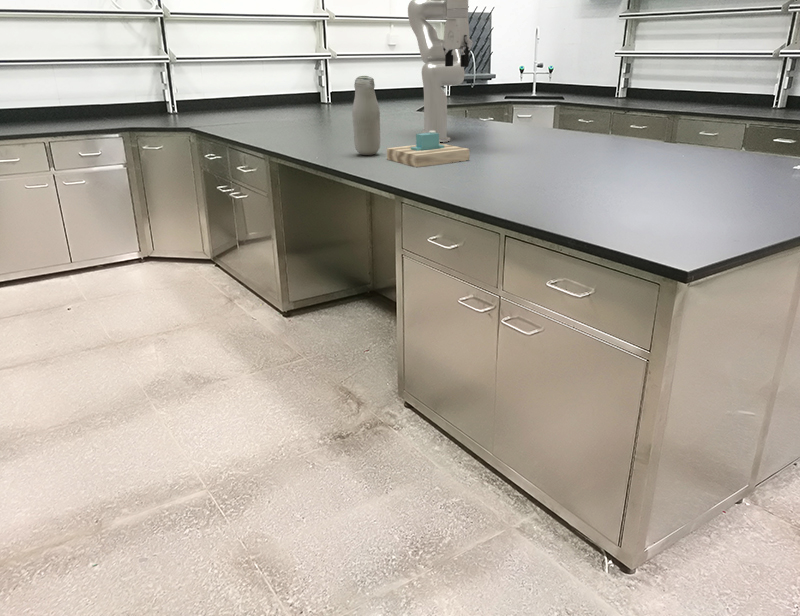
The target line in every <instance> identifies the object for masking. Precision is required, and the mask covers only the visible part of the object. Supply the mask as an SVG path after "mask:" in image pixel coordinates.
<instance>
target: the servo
mask: <svg viewBox="0 0 800 616" xmlns="http://www.w3.org/2000/svg"><path fill="white" fill-rule="evenodd" d="M415 145H416V147H411V150H415V151H420V150H421V151H423V150H432V149H439V148H444V145H440V144H439V133H435V131H429V133H416V134H415Z"/></svg>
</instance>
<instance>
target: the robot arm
mask: <svg viewBox="0 0 800 616" xmlns="http://www.w3.org/2000/svg"><path fill="white" fill-rule="evenodd" d="M407 16H408V17H407V18H408V22H409V25H410V27H411V29H412V31H413V34H414V35H415V37H416V39H417V40H416V41H417V45H418V49H419V53H420V57H421V60H422V62H423V63H424V64H423V66H421V67H422V68H421V79H422V85H423V123H424V125H423V126H424V127H423V130H422V131H421V132H420V134H422V133H429V131H435V133H439V143H440V142H443V143H449V142H450V141H451V137H449V136H448V135H447V133H448V132H447V131H448V129H447V126H448V125H447V124H448V122H447V121H448V97H447V94H446V92H445V91H444V90H443V88H442V87H445V86H446V87H447V86H459V85H461V84H462V83H463V82H464V80H465V74H466V73H465V68H467V67H469V64H470V54H471V51H472V47H473V44H474V42H473V40H472V39H471V38H470V25H469V0H410V1H409V3H408V5H407ZM428 21H445V24H444V25H445V26H444V33H443V39H440V38H438V32H437V31H436V29H435V28H434V27H433V25H432V24H431V23H430V22H428ZM448 141H449V142H448Z"/></svg>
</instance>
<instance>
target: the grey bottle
mask: <svg viewBox="0 0 800 616" xmlns="http://www.w3.org/2000/svg"><path fill="white" fill-rule="evenodd" d="M375 86H376V85H375V79H374V78H373V77H372V76H369V75H360V76H357V77H356V78H355V79H354V99H353V104H352V109H351V111H352V114H351V118H352V127H353V140H354V142H353V143H354V147H355V150H356V152H357V153H359V154H360V155H363V156H373V155H375V154H377V153H378V152H379V150H380V148H381V115H380V114H381V113H380V107H379V102H378V100H377V96H376V92H375Z"/></svg>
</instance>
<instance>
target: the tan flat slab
mask: <svg viewBox="0 0 800 616" xmlns="http://www.w3.org/2000/svg"><path fill="white" fill-rule="evenodd" d="M439 144H440V145H444V148H439V149H432V150H423V151H421V150H420V151H415V150H411V147H416V144H414V145H413V144H412V145H405V146H404V145H403V146H396V147H395V146H394V147H387V148H386V160H389V161H393V162H396V163H400V164H404V165H407V166H410V167H413V168H414V167H415V168H420V167H429V166H435V165H443V164H445V165H446V164H451V163H452V162H453V163H459V161H461V162H467V161H466V160H469V161H470V154H471V153H470V148H466V147H460V146H456V145H451V144H446V143H439Z"/></svg>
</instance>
